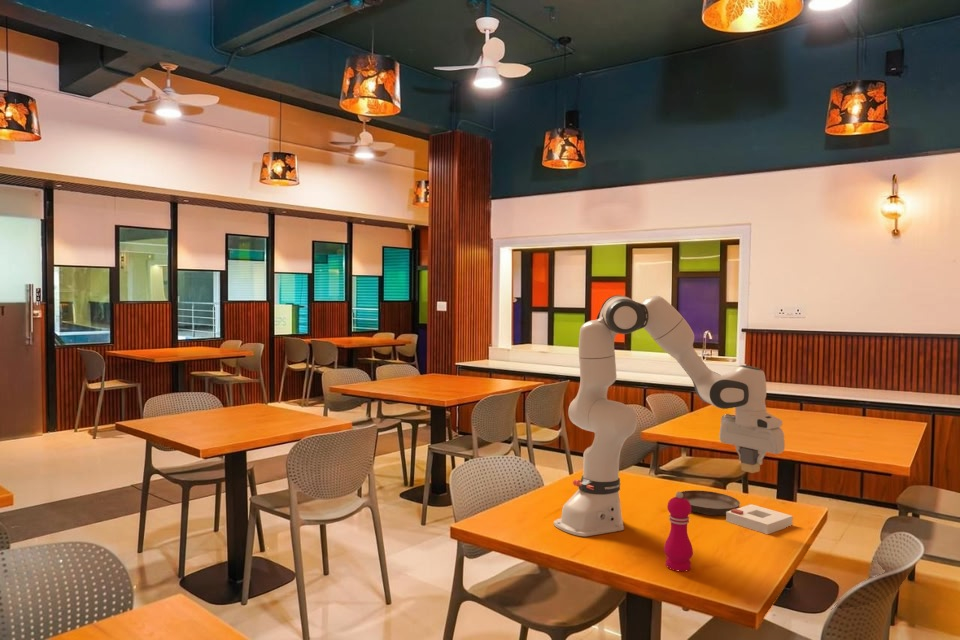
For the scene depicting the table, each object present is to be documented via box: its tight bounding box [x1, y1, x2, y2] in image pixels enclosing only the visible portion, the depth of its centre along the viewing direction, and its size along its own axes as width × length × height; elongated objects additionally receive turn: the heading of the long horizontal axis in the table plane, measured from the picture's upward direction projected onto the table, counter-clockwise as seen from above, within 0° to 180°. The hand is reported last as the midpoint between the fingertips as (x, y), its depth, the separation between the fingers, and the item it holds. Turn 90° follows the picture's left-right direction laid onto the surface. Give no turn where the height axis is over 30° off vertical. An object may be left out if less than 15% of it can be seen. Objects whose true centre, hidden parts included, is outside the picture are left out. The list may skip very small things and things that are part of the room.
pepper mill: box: [663, 491, 694, 572], centre depth 170 cm, size 7×7×20 cm
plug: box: [740, 447, 761, 474], centre depth 200 cm, size 4×4×7 cm
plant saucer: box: [675, 489, 741, 516], centre depth 220 cm, size 21×21×3 cm
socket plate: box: [725, 503, 794, 535], centre depth 204 cm, size 14×14×4 cm
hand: (750, 462), depth 200 cm, fingers closed on plug, 4 cm apart
